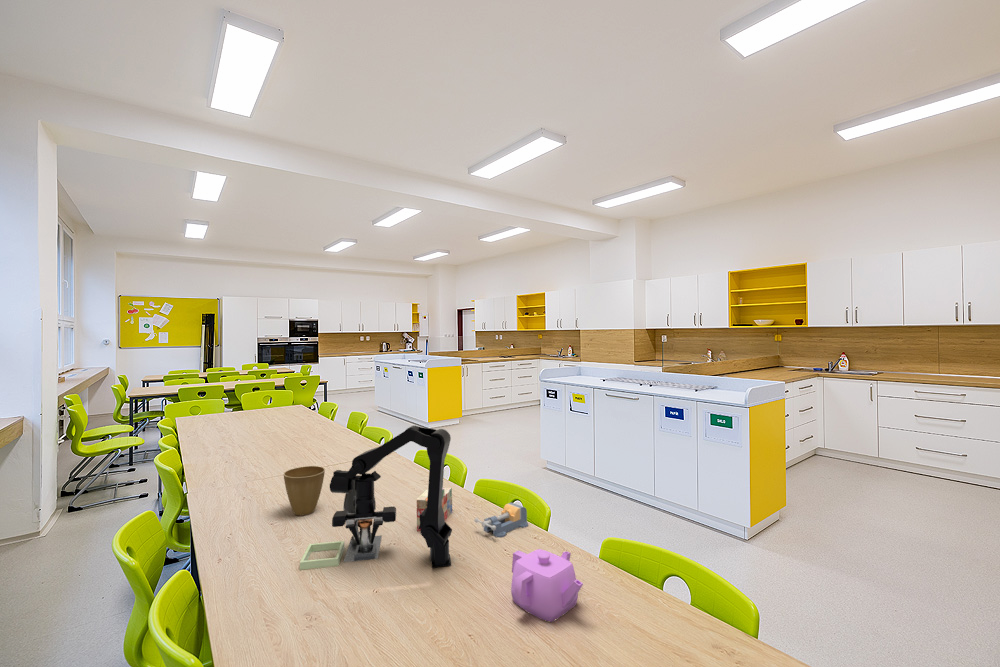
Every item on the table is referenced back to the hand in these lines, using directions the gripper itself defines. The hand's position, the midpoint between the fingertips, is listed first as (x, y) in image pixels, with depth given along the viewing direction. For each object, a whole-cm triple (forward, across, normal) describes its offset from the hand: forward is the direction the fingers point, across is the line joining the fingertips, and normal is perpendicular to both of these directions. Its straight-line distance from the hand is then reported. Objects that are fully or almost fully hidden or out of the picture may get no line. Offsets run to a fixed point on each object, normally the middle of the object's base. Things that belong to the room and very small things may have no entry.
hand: (365, 543), depth 139 cm
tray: (+4, +12, 0) cm, 13 cm away
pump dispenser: (+4, +6, -32) cm, 33 cm away
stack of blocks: (+4, -22, -21) cm, 31 cm away
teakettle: (+4, -48, +34) cm, 59 cm away
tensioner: (+4, +1, -4) cm, 6 cm away
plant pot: (+4, +28, -42) cm, 50 cm away
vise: (+4, -46, -10) cm, 47 cm away
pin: (+3, 0, 0) cm, 3 cm away
